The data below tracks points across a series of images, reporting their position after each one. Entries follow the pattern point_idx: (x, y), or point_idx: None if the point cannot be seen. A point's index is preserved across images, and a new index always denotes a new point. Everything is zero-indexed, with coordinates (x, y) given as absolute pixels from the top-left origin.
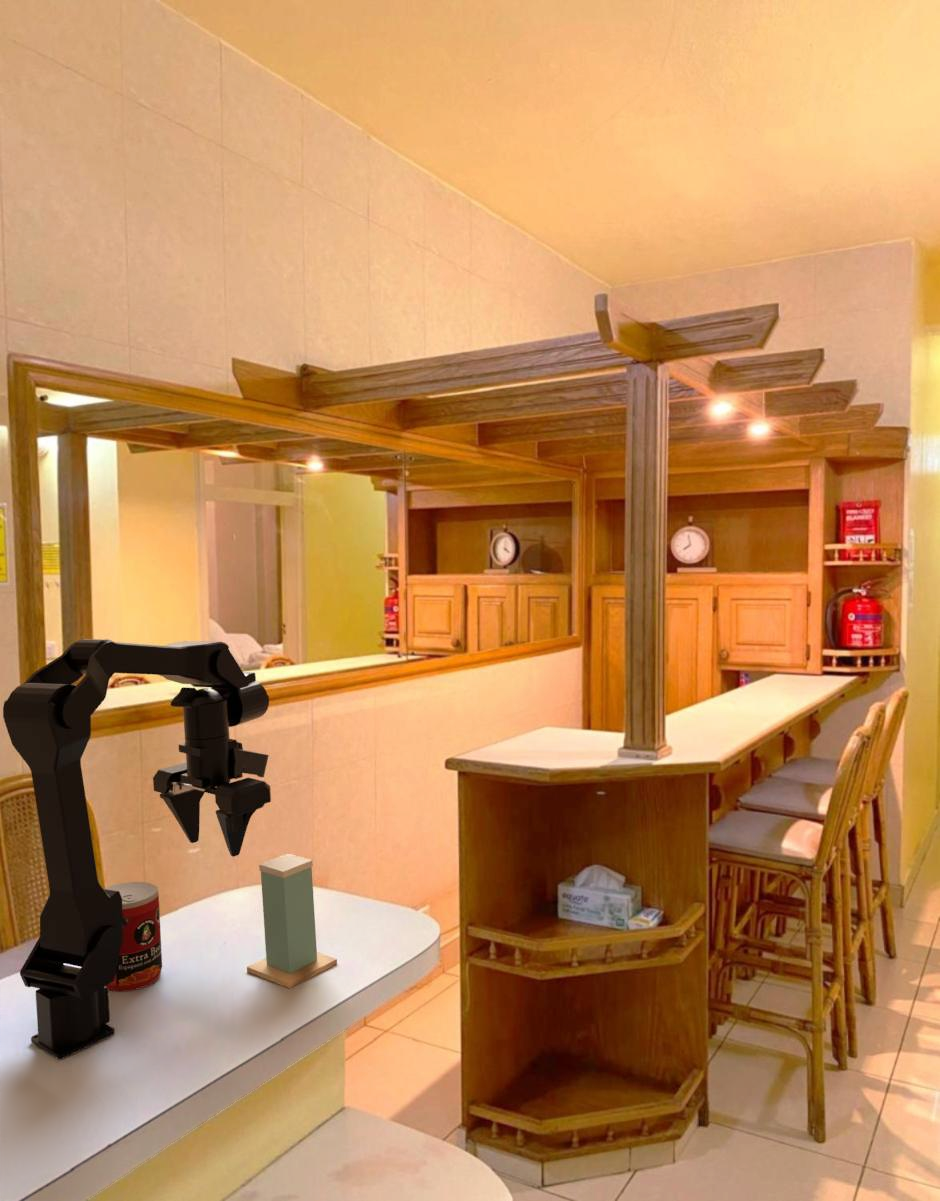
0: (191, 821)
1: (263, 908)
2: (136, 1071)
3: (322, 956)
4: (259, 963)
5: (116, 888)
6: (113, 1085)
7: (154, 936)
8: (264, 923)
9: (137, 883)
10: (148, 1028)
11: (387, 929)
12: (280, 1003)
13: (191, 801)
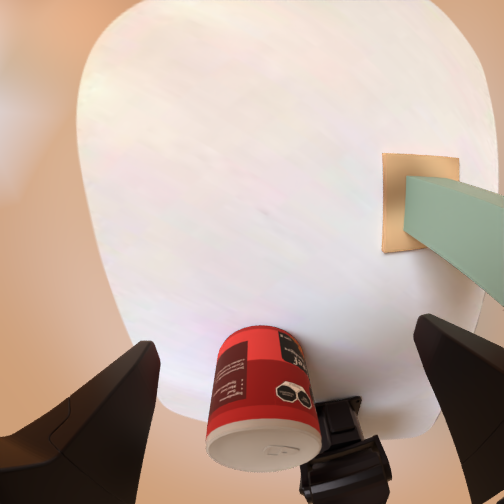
0: (129, 427)
1: (456, 267)
2: (413, 392)
3: (442, 162)
4: (391, 234)
5: (218, 449)
6: (410, 404)
7: (309, 385)
8: (440, 255)
9: (229, 435)
10: (378, 375)
11: (422, 35)
12: None
13: (81, 496)
